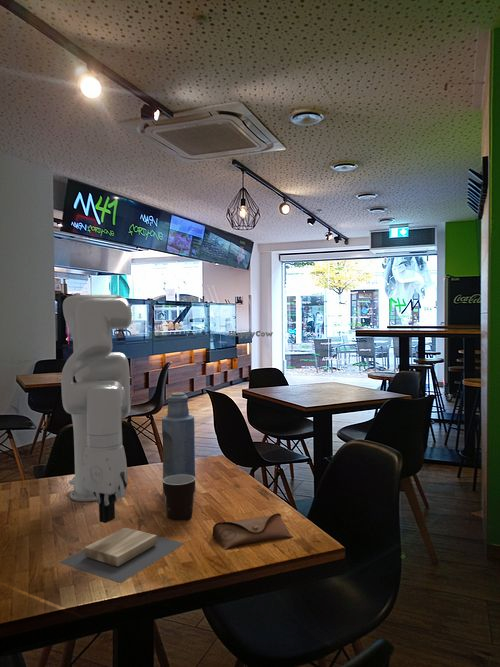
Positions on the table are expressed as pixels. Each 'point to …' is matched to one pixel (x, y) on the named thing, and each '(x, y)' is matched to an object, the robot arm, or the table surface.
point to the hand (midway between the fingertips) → (107, 520)
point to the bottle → (178, 437)
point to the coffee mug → (179, 496)
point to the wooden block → (120, 546)
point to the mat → (126, 568)
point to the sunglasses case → (250, 531)
